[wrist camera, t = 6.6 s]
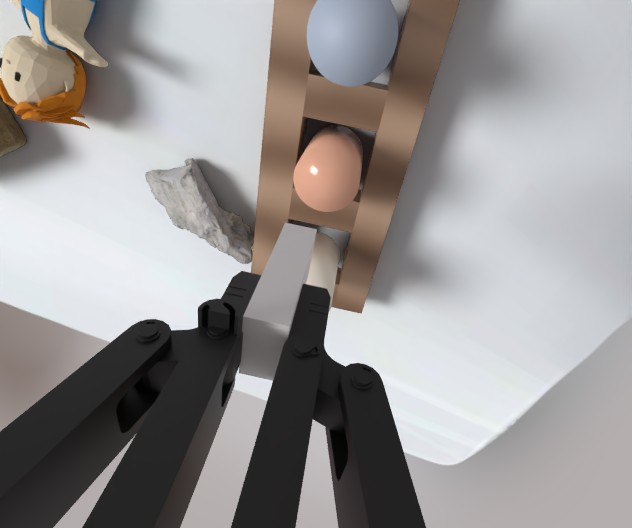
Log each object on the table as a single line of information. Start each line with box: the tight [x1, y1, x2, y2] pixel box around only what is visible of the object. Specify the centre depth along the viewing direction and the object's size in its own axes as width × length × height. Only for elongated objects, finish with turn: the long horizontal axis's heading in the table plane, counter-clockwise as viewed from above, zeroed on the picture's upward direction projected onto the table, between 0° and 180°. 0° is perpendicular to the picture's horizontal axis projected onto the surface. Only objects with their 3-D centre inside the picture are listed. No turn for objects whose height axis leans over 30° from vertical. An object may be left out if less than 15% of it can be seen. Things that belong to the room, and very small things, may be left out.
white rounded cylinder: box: [306, 232, 340, 310], centre depth 32 cm, size 5×5×7 cm
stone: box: [145, 158, 254, 264], centre depth 37 cm, size 6×12×4 cm, turn 33°
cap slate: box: [307, 0, 398, 87], centre depth 22 cm, size 5×5×7 cm
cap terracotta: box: [293, 125, 363, 212], centre depth 29 cm, size 5×5×7 cm
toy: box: [0, 0, 108, 129], centre depth 29 cm, size 12×6×15 cm
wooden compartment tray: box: [251, 0, 460, 313], centre depth 32 cm, size 30×12×3 cm, turn 170°
